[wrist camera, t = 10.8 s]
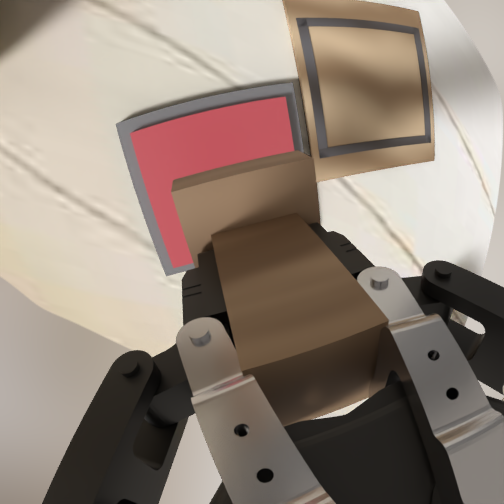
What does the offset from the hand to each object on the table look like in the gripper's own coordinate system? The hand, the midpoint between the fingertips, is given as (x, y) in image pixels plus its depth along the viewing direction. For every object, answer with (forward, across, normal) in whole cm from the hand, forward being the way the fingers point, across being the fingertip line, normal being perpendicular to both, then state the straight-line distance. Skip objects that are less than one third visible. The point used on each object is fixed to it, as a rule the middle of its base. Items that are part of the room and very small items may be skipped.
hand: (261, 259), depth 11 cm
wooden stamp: (+2, 0, 0) cm, 2 cm away
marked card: (+13, -14, -6) cm, 20 cm away
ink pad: (+13, 0, 0) cm, 13 cm away
